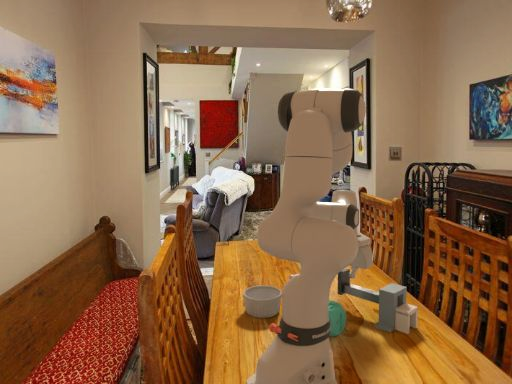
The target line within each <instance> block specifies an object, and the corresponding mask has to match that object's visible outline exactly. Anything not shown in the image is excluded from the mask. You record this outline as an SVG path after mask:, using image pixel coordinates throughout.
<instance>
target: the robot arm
mask: <svg viewBox="0 0 512 384" xmlns="http://www.w3.org/2000/svg"><path fill="white" fill-rule="evenodd" d="M366 112H367V107H366V100H364V94H362V92H360V91H359V90H357V89H353V88H348V87H346V88H343V89H341V88H320V87H319V88H311V89H304V90H299V91H297V90H294V91H290V92H289V91H288V92H286V93H285V94H283V95H282V96H281V98H280V99H279V101H278V106H277V119H278V122H279V124H280V126H281V127H282V128H283V130H285V132H287V135H286V141H285V142H286V143H285V150H284V166H283V167H284V168H283V169H284V170H283V180H282V188H281V193H280V196H279V198H278V201H277V204H275V206H274V208H273V210H272V211H271V212H270V213H269V214H268V215H267V216H265V217H264V218H263V219H262V220H261V222H260V223H259V226H258V228H257V232H256V239H257V244H258V246H259V248H260V249H261V251H263V252H264V253H266V254H268V255H270V256H272V257H275V258H276V259H281V260H285V261H289V262H295V263H298V264H299V265H300V270H299V274H300V275H298V276H295V277H293V278H291V279H290V280H289V279H288V280H287V281H286V282H285V284H284V285H283V288H282V289H281V292H282V297H281V306H282V307H281V309H282V310H281V316H280V319H279V324H276V323H274V322H273V323H271V324H270V325H269V328H268V330H269V331H270V332H271V333H274V334H275V335H276V336H275V337H274V338H273V339H272V341H271V342H270V343H269V344H268V346H267V347H266V349H265V350H264V351H263V353H262V354H261V355H260V356H259V358H258V359H257V362H256V369H255V372H254V373H253V374H252V375H251V376H250V377H248V378H247V379H246V381H245V383H246V384H338V381H337V379H336V372H335V365H334V356H333V349H332V346H331V342H330V337H329V336H330V329H331V325H330V319H329V317H328V306H329V301H330V290H331V287H332V284H333V282H334V279H335V278H336V276H338V273H339V272H340V271H341V270H343V269H346V268H348V267H350V268H351V269H350V270H352V271H350V273H349V278H350V279H356V274H357V271H358V270H359V269H361V270H362V269H363V270H368V269H370V268H371V267H372V266H373V249H372V247H371V246H370V244H372V239H371V238H370V237H369V236H367V235H365V234H363V233H362V232H361V231H358V227H359V224H360V209H359V208H358V203H357V202H358V198H357V194H356V192H355V191H354V190H350V189H336V190H334V191H333V192H332V196H331V201H330V202H328V201H324V202H323V201H321V200H322V199H324V198H325V197H326V196H328V194H329V193H330V192H331V188H332V176H333V175H335V174H338V173H340V172H341V171H342V170H344V169H345V168H346V167H348V165H349V164H350V162H351V161H352V158H353V149H354V147H353V136H352V132H354V131H357V130H358V129H359V128H361V127H362V125H363V122H364V120H365V117H366Z"/></svg>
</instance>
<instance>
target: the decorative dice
mask: <svg viewBox="0 0 512 384" xmlns="http://www.w3.org/2000/svg"><path fill="white" fill-rule="evenodd" d="M328 317H329V319H330V325H331V329H330V336H329V338H330V337H337V336H339V335H341V334H342V332H343V331H344V329H345V327H346V324H347V313H346V310H345V308H344V306H342V304H340V303H339V302H336V301H334V300H329V306H328Z"/></svg>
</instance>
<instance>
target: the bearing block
mask: <svg viewBox="0 0 512 384" xmlns="http://www.w3.org/2000/svg"><path fill="white" fill-rule="evenodd" d="M407 289H408V288H407V286H404V285H400V284H397V283H392V282H390V283H389V284H387V285H385V286H382V287H381V288H379V289H378V292H379V304H378V321H376V323H374V328H376V329H379V330H382V331H384V332H387V333H391V332H393V331H395V309H396V308H398V307H399V306H401V305H403V304H404V303H407Z"/></svg>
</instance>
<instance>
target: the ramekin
mask: <svg viewBox="0 0 512 384" xmlns="http://www.w3.org/2000/svg"><path fill="white" fill-rule="evenodd" d="M242 295H243V296H242V297H243V299H244V300H243V302H244V307H245V311H246V313H247V314H248V315H249V316H250V317H253V318H257V319H268V318H272V317H274V316H276V315H277V314H278V313H279V311H280V310H281V304H282V289H280V288H279V287H277V286H273V285H262V284H261V285H260V284H259V285H254V286H250V287H248V288H246V289H244V291H243V292H242Z"/></svg>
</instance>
